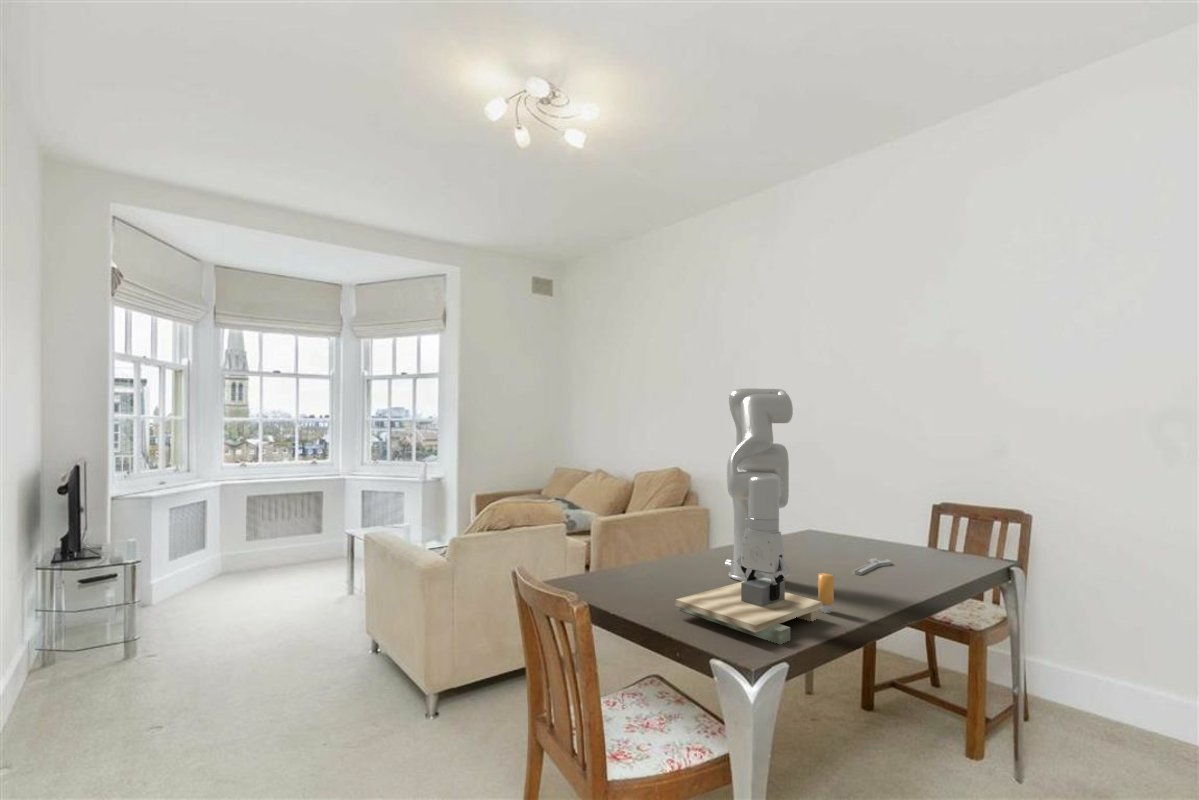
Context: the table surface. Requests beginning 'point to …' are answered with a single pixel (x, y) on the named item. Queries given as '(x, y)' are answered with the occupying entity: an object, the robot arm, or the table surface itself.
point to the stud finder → (760, 591)
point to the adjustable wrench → (871, 566)
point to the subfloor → (749, 612)
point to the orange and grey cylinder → (826, 591)
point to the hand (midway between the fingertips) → (762, 595)
